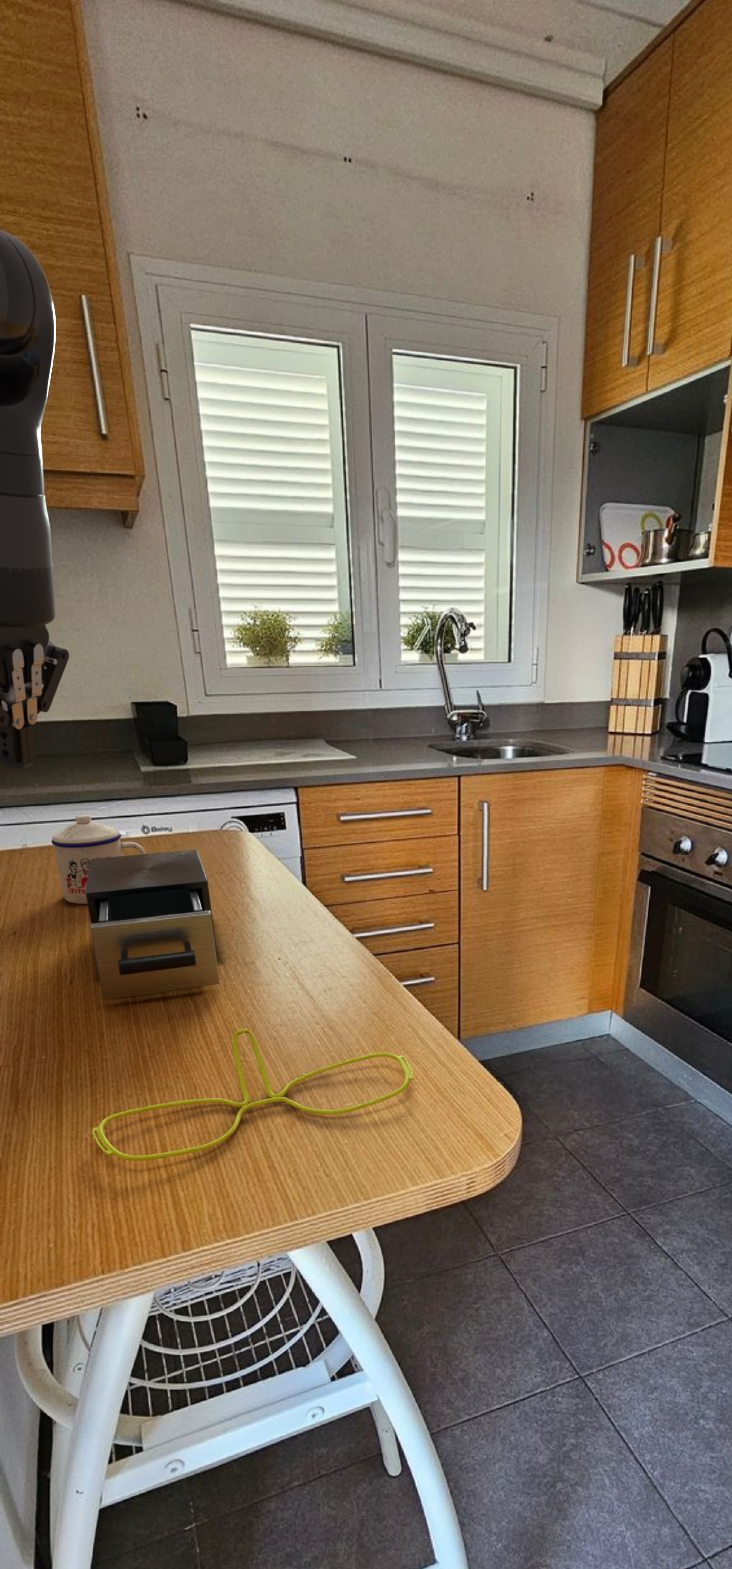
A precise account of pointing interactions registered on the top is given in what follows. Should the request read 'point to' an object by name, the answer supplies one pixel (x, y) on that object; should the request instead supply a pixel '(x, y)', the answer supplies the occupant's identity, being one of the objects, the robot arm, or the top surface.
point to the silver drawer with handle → (154, 944)
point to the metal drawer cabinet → (146, 878)
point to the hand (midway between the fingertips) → (18, 764)
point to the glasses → (244, 1105)
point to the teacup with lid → (84, 853)
